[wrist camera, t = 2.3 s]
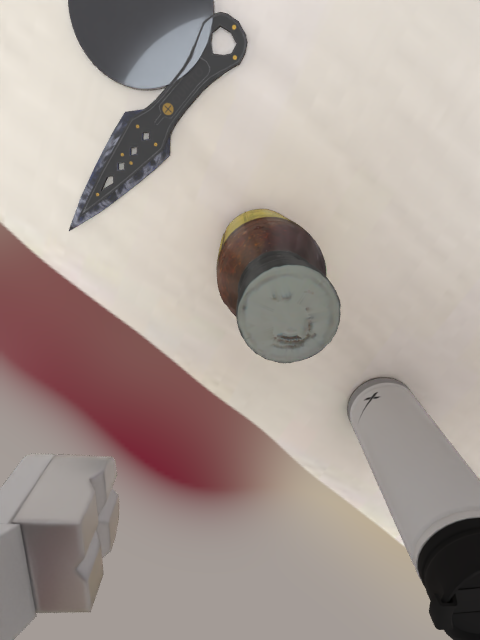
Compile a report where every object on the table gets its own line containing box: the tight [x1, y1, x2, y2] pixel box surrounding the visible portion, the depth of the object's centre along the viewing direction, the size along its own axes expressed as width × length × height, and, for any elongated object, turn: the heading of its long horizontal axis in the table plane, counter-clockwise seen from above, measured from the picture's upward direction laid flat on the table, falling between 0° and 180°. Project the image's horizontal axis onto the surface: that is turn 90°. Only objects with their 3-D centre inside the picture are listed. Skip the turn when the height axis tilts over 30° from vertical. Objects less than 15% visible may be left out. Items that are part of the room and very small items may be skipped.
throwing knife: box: [69, 12, 247, 231], centre depth 32 cm, size 4×20×1 cm, turn 136°
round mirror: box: [68, 0, 214, 90], centre depth 29 cm, size 10×10×1 cm
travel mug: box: [347, 378, 480, 640], centre depth 31 cm, size 6×7×20 cm
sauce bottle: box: [217, 209, 340, 363], centre depth 25 cm, size 6×6×20 cm
